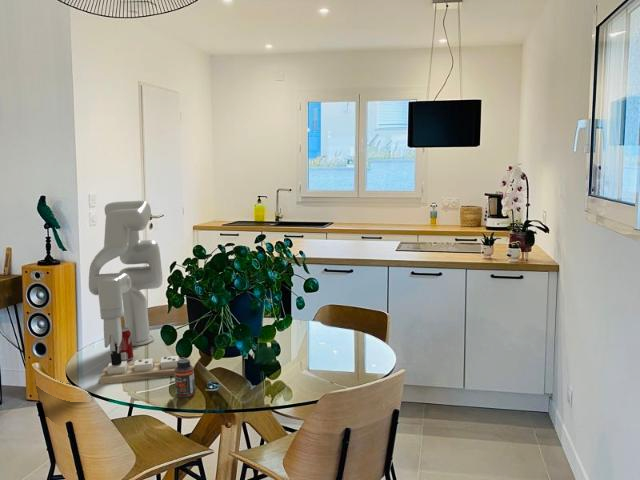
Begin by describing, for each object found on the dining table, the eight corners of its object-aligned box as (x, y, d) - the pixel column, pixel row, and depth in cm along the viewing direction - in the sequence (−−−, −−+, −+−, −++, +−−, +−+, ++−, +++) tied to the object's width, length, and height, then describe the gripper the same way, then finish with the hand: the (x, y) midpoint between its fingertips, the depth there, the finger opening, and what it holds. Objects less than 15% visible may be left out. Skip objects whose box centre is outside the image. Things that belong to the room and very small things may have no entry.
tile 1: (110, 373, 218) (109, 362, 217) (127, 371, 219) (126, 360, 218) (107, 379, 212) (106, 367, 211) (125, 377, 213) (124, 365, 212)
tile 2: (136, 370, 219) (135, 359, 219) (153, 368, 220) (152, 357, 220) (134, 376, 214) (133, 364, 213) (152, 374, 215) (151, 362, 214)
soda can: (127, 363, 229) (125, 331, 227) (111, 362, 230) (108, 331, 229) (136, 357, 236) (134, 326, 234) (120, 356, 237) (117, 326, 235)
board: (106, 371, 221) (105, 366, 221) (185, 362, 226) (184, 357, 226) (100, 383, 208) (99, 378, 208) (184, 374, 213) (183, 369, 213)
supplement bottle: (173, 398, 192) (170, 363, 191) (180, 391, 198) (178, 357, 196) (191, 398, 191) (188, 363, 189) (198, 391, 197) (195, 357, 195)
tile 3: (162, 368, 221) (161, 356, 220) (179, 366, 222) (178, 354, 222) (161, 373, 215) (160, 361, 215) (178, 371, 216) (177, 359, 216)
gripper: (103, 309, 219) (108, 358, 221) (96, 319, 204) (102, 372, 207) (125, 307, 220) (130, 356, 223) (120, 317, 206) (125, 369, 208)
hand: (116, 363), depth 215 cm, fingers closed
